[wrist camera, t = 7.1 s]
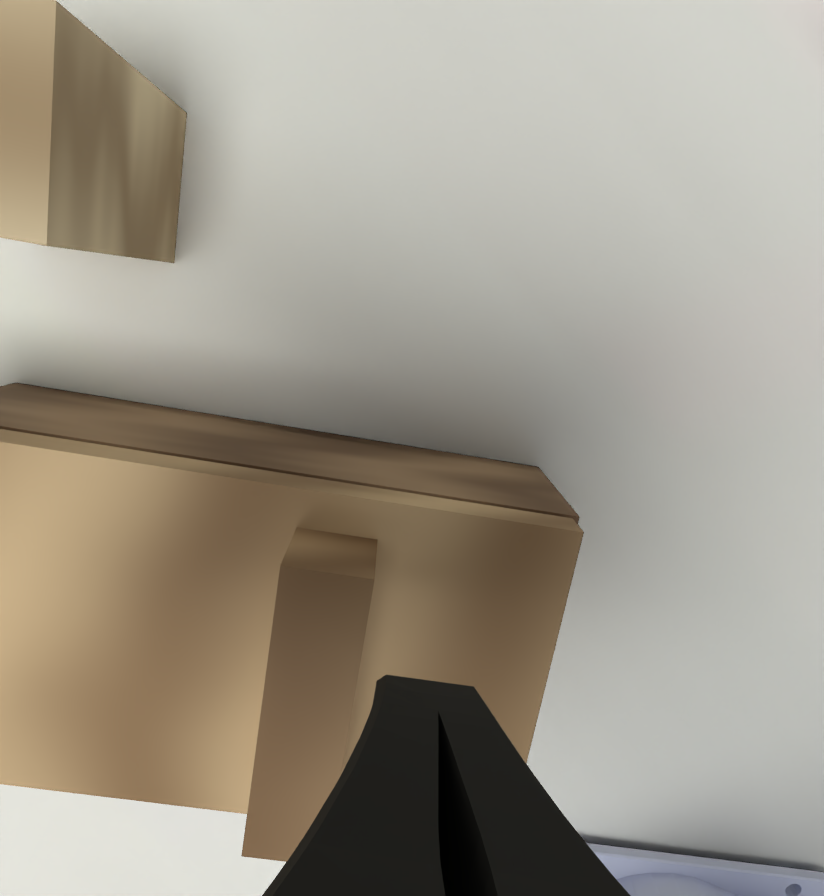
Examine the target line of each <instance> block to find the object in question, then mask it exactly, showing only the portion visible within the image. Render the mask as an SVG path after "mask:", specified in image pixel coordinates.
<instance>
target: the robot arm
mask: <svg viewBox="0 0 824 896" xmlns="http://www.w3.org/2000/svg"><path fill="white" fill-rule="evenodd" d="M262 896H824V873H823V872H818V871H810V870H802V869H794V868H786V867H778V866H770V865H761V864H753V863H745V862H737V861H729V860H721V859H713V858H704V857H696V856H688V855H680V854H672V853H664V852H656V851H647V850H639V849H631V848H623V847H615V846H607V845H599V844H590V843H586V842H585V841H584V840H583V839H582V837H581V836H580V835H579V834H578V833H577V831H576V830H575V829H574V828H573V826H572V825H571V824H570V823H569V821H568V820H567V819H566V817H565V816H564V815H563V814H562V812H561V811H560V810H559V808H558V807H557V806H556V804H555V803H554V801H553V800H552V799H551V797H550V796H549V795H548V793H547V792H546V791H545V789H544V788H543V786H542V785H541V784H540V782H539V781H538V780H537V778H536V777H535V776H534V774H533V773H532V771H531V770H530V769H529V767H528V766H527V764H526V763H525V761H524V760H523V759H522V757H521V756H520V754H519V753H518V751H517V750H516V748H515V747H514V745H513V744H512V742H511V741H510V739H509V738H508V737H507V735H506V734H505V732H504V731H503V729H502V728H501V726H500V725H499V723H498V722H497V720H496V718H495V717H494V715H493V714H492V712H491V711H490V709H489V708H488V706H487V705H486V703H485V702H484V700H483V699H482V698H481V696H480V695H479V693H478V692H477V690H476V689H475V687H474V686H467V685H459V684H452V683H445V682H437V681H430V680H423V679H416V678H408V677H401V676H394V675H385V676H383V677H382V678H380V679H379V680H377V682H376V688H375V693H374V699H373V705H372V708H371V711H370V714H369V717H368V719H367V722H366V724H365V726H364V729H363V731H362V734H361V736H360V738H359V740H358V742H357V744H356V746H355V748H354V750H353V752H352V754H351V756H350V758H349V760H348V762H347V764H346V766H345V768H344V770H343V772H342V774H341V776H340V778H339V779H338V781H337V783H336V785H335V786H334V788H333V790H332V791H331V793H330V795H329V796H328V798H327V800H326V801H325V803H324V805H323V806H322V808H321V810H320V811H319V813H318V815H317V816H316V818H315V820H314V821H313V823H312V825H311V826H310V828H309V829H308V831H307V833H306V834H305V836H304V837H303V839H302V840H301V842H300V843H299V845H298V846H297V848H296V849H295V851H294V852H293V854H292V855H291V856H290V858H289V859H288V861H287V862H286V864H285V865H284V866H283V868H282V869H281V871H280V872H279V874H278V875H277V876H276V878H275V879H274V880H273V882H272V883H271V884H270V886H269V887H268V889H267V890H266V891H265V893H264V894H263V895H262Z"/></svg>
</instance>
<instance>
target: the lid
mask: <svg viewBox="0 0 824 896" xmlns="http://www.w3.org/2000/svg"><path fill="white" fill-rule="evenodd" d="M583 533H584V532H583V531H582V529H581V528H580V527H579V526H578V524H577V523H576V522H575V521H574V519H573V518H567V517H561V516H554V515H548V514H542V513H535V512H529V511H522V510H516V509H510V508H503V507H497V506H490V505H484V504H478V503H471V502H465V501H458V500H452V499H446V498H439V497H433V496H426V495H420V494H414V493H407V492H401V491H394V490H388V489H382V488H375V487H369V486H362V485H356V484H350V483H343V482H337V481H330V480H324V479H318V478H311V477H305V476H299V475H292V474H286V473H279V472H273V471H267V470H260V469H254V468H247V467H241V466H235V465H228V464H222V463H215V462H209V461H203V460H196V459H190V458H183V457H177V456H171V455H164V454H158V453H151V452H145V451H139V450H132V449H126V448H119V447H113V446H107V445H100V444H94V443H87V442H81V441H75V440H68V439H62V438H56V437H49V436H43V435H36V434H30V433H24V432H17V431H11V430H4V429H0V784H4V785H13V786H21V787H29V788H37V789H45V790H54V791H62V792H70V793H78V794H87V795H95V796H103V797H111V798H120V799H128V800H136V801H144V802H152V803H161V804H169V805H177V806H185V807H194V808H202V809H210V810H218V811H227V812H235V813H243V814H247V819H246V827H245V834H244V842H243V850H242V856H244V857H252V858H261V859H269V860H278V861H286V862H287V861H288V859H289V858H290V856H291V855H292V854H293V852H294V851H295V849H296V848H297V846H298V845H299V843H300V842H301V840H302V839H303V837H304V836H305V834H306V833H307V831H308V829H309V828H310V826H311V825H312V823H313V821H314V820H315V818H316V816H317V815H318V813H319V811H320V810H321V808H322V806H323V805H324V803H325V801H326V800H327V798H328V796H329V795H330V793H331V791H332V790H333V788H334V786H335V785H336V783H337V781H338V779H339V778H340V776H341V774H342V772H343V770H344V768H345V766H346V764H347V762H348V760H349V758H350V756H351V754H352V752H353V750H354V748H355V746H356V744H357V742H358V740H359V738H360V736H361V734H362V731H363V729H364V726H365V724H366V722H367V719H368V717H369V714H370V711H371V708H372V705H373V699H374V693H375V688H376V682H377V680H379V679H380V678H382V677H383V676H385V675H394V676H401V677H408V678H416V679H423V680H430V681H437V682H445V683H452V684H459V685H467V686H474V687H475V689H476V690H477V692H478V693H479V695H480V696H481V698H482V699H483V700H484V702H485V703H486V705H487V706H488V708H489V709H490V711H491V712H492V714H493V715H494V717H495V718H496V720H497V722H498V723H499V725H500V726H501V728H502V729H503V731H504V732H505V734H506V735H507V737H508V738H509V739H510V741H511V742H512V744H513V745H514V747H515V748H516V750H517V751H518V753H519V754H520V756H521V757H522V759H523V760H524V761H525V763H526V762H527V758H528V754H529V750H530V746H531V742H532V738H533V734H534V730H535V726H536V722H537V718H538V714H539V710H540V706H541V702H542V698H543V694H544V690H545V686H546V682H547V678H548V674H549V670H550V666H551V662H552V658H553V654H554V650H555V646H556V642H557V638H558V634H559V630H560V626H561V622H562V618H563V614H564V610H565V606H566V602H567V598H568V593H569V589H570V585H571V581H572V577H573V573H574V569H575V565H576V561H577V557H578V553H579V549H580V545H581V541H582V537H583Z"/></svg>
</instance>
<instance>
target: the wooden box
mask: <svg viewBox="0 0 824 896" xmlns="http://www.w3.org/2000/svg"><path fill="white" fill-rule="evenodd" d="M0 429H4V430H11V431H17V432H24V433H30V434H36V435H43V436H49V437H56V438H62V439H68V440H75V441H81V442H87V443H94V444H100V445H107V446H113V447H119V448H126V449H132V450H139V451H145V452H151V453H158V454H164V455H171V456H177V457H183V458H190V459H196V460H203V461H209V462H215V463H222V464H228V465H235V466H241V467H247V468H254V469H260V470H267V471H273V472H279V473H286V474H292V475H299V476H305V477H311V478H318V479H324V480H330V481H337V482H343V483H350V484H356V485H362V486H369V487H375V488H382V489H388V490H394V491H401V492H407V493H414V494H420V495H426V496H433V497H439V498H446V499H452V500H458V501H465V502H471V503H478V504H484V505H490V506H497V507H503V508H510V509H516V510H522V511H529V512H535V513H542V514H548V515H554V516H561V517H567V518H573V519H574V521H575V522H576V523H577V524H578V520H579V516H578V514H577V513H576V512H575V511H574V510H573V508H572V507H571V506H570V505H569V504H568V502H567V501H566V500H565V499H564V497H563V496H562V495H561V494H560V493H559V491H558V490H557V489H556V488H555V487H554V485H553V484H552V483H551V482H550V480H549V479H548V478H547V477H546V476H545V474H544V473H543V472H542V471H541V470H540V468H539V467H536V466H529V465H523V464H517V463H511V462H504V461H498V460H492V459H486V458H480V457H473V456H467V455H461V454H455V453H449V452H442V451H436V450H430V449H424V448H418V447H411V446H405V445H399V444H393V443H387V442H380V441H374V440H368V439H362V438H356V437H349V436H343V435H337V434H331V433H325V432H318V431H312V430H306V429H300V428H294V427H287V426H281V425H275V424H269V423H262V422H256V421H250V420H244V419H238V418H231V417H225V416H219V415H213V414H207V413H200V412H194V411H188V410H182V409H176V408H169V407H163V406H157V405H151V404H145V403H138V402H132V401H126V400H120V399H114V398H107V397H101V396H95V395H89V394H83V393H76V392H70V391H64V390H58V389H52V388H45V387H39V386H33V385H27V384H20V383H13V384H9V385H4V386H0Z"/></svg>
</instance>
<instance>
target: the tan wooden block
mask: <svg viewBox="0 0 824 896" xmlns="http://www.w3.org/2000/svg"><path fill="white" fill-rule="evenodd" d="M186 117H187V113H186V112H185V111H184V110H183V109H181V108H180V107H179V106H178V105H177V104H176V103H174V102H173V101H172V100H171V99H170V98H169V97H167V96H166V95H165V94H164V93H163V92H162V91H160V90H159V89H158V88H157V87H156V86H155V85H154V84H152V83H151V82H150V81H149V80H148V79H147V78H145V77H144V76H143V75H142V74H141V73H140V72H138V71H137V70H136V69H135V68H134V67H133V66H131V65H130V64H129V63H128V62H127V61H126V60H124V59H123V58H122V57H121V56H120V55H119V54H117V53H116V52H115V51H114V50H113V49H112V48H110V47H109V46H108V45H107V44H106V43H105V42H104V41H102V40H101V39H100V38H99V37H98V36H97V35H95V34H94V33H93V32H92V31H91V30H90V29H88V28H87V27H86V26H85V25H84V24H83V23H81V22H80V21H79V20H78V19H77V18H76V17H74V16H73V15H72V14H71V13H70V12H69V11H67V10H66V9H65V8H64V7H63V6H62V5H60V4H59V3H58V2H57V1H55V0H0V237H1V238H6V239H12V240H17V241H23V242H28V243H34V244H40V245H45V246H52V247H60V248H67V249H74V250H82V251H89V252H96V253H104V254H111V255H118V256H126V257H133V258H141V259H148V260H155V261H163V262H170V263H174V258H175V247H176V235H177V223H178V211H179V200H180V188H181V176H182V164H183V153H184V141H185V129H186Z"/></svg>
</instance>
